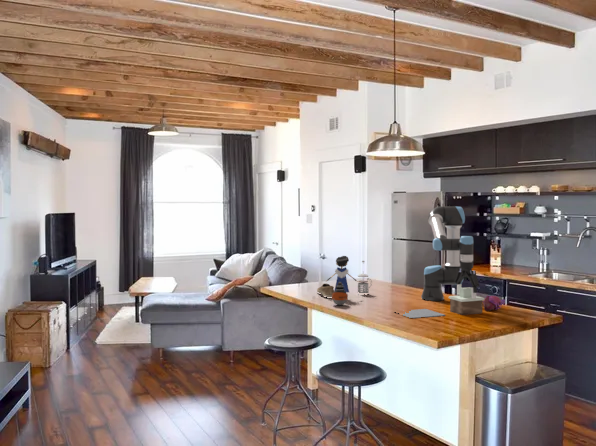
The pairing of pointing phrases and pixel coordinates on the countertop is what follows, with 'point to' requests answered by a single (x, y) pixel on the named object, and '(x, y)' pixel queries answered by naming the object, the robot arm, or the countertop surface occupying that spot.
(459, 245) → the robot arm
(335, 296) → the grenade
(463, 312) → the storage box
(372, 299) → the countertop surface
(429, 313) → the mat
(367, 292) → the french press
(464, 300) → the lid
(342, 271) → the figurine
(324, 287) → the slip on shoe
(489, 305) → the anatomical model
